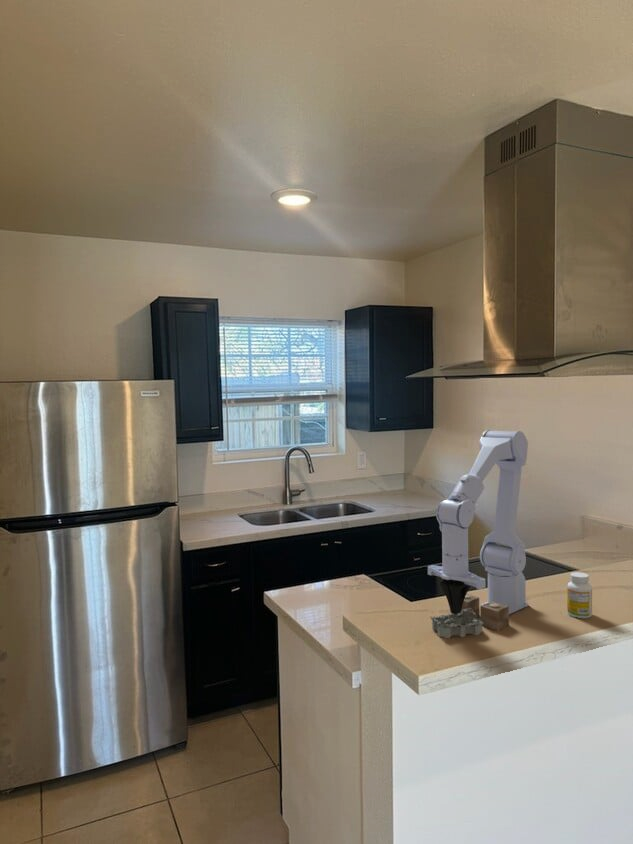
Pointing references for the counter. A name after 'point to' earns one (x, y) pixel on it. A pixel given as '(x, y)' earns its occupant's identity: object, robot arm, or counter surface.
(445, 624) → the egg carton
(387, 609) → the counter surface
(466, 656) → the counter surface
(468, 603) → the dotted block
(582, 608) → the supplement bottle
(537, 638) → the counter surface
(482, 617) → the dotted block
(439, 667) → the counter surface
